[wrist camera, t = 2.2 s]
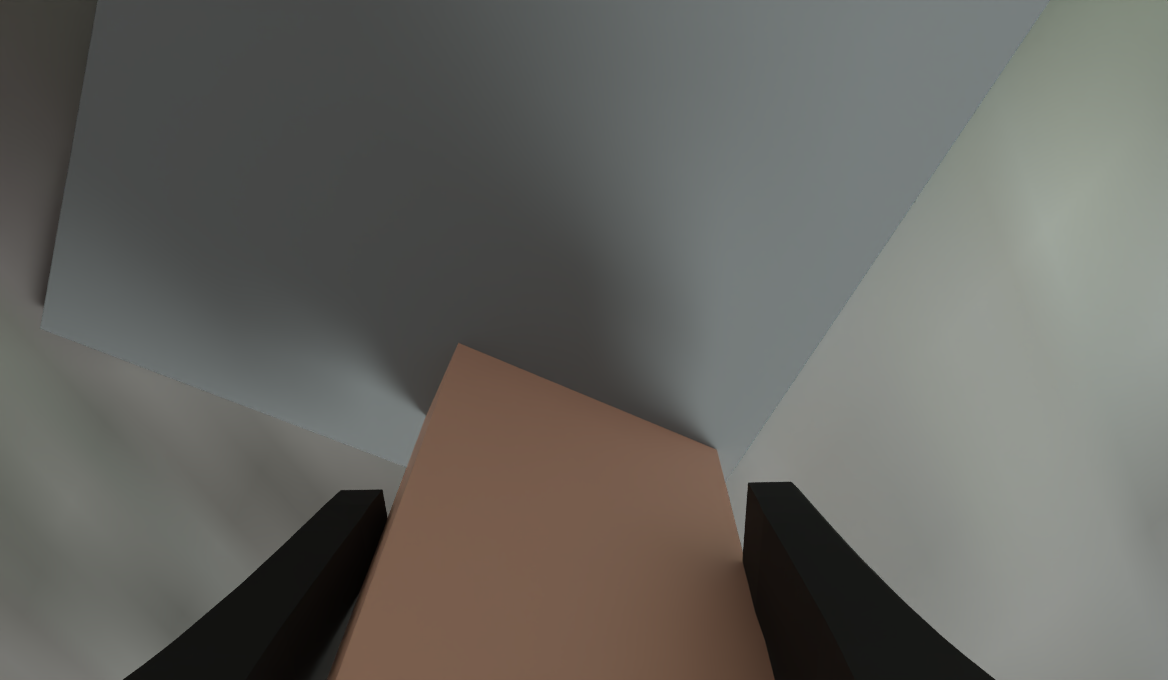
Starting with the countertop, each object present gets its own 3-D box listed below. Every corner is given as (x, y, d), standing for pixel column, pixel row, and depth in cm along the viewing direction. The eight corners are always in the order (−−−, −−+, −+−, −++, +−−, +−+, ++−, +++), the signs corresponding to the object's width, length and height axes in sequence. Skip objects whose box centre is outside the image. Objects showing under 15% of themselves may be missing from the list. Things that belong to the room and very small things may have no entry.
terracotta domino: (716, 449, 14) (885, 1119, 6) (675, 514, 15) (774, 1197, 6) (458, 342, 13) (236, 956, 5) (426, 415, 14) (183, 1063, 6)
